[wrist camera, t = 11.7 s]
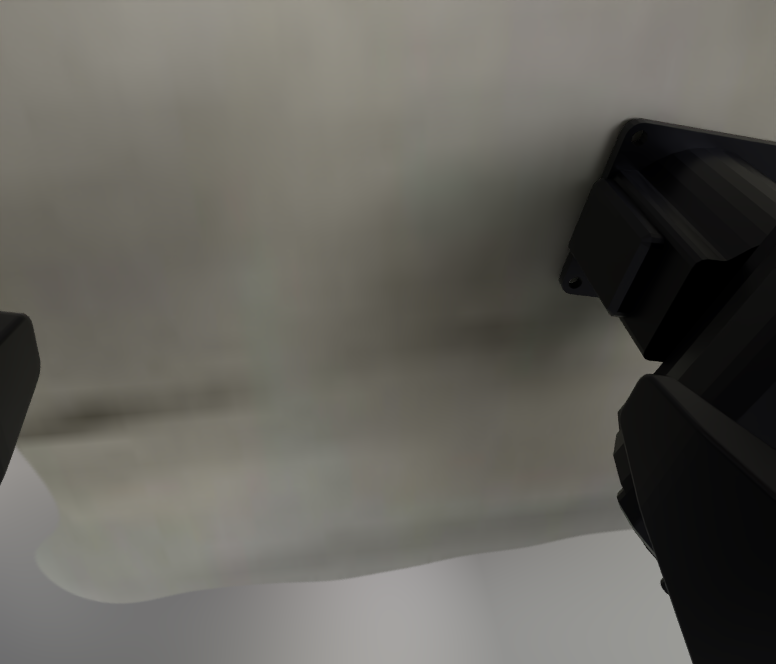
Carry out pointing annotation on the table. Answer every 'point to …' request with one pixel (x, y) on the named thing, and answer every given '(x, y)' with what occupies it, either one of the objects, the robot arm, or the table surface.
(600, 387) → the table surface
